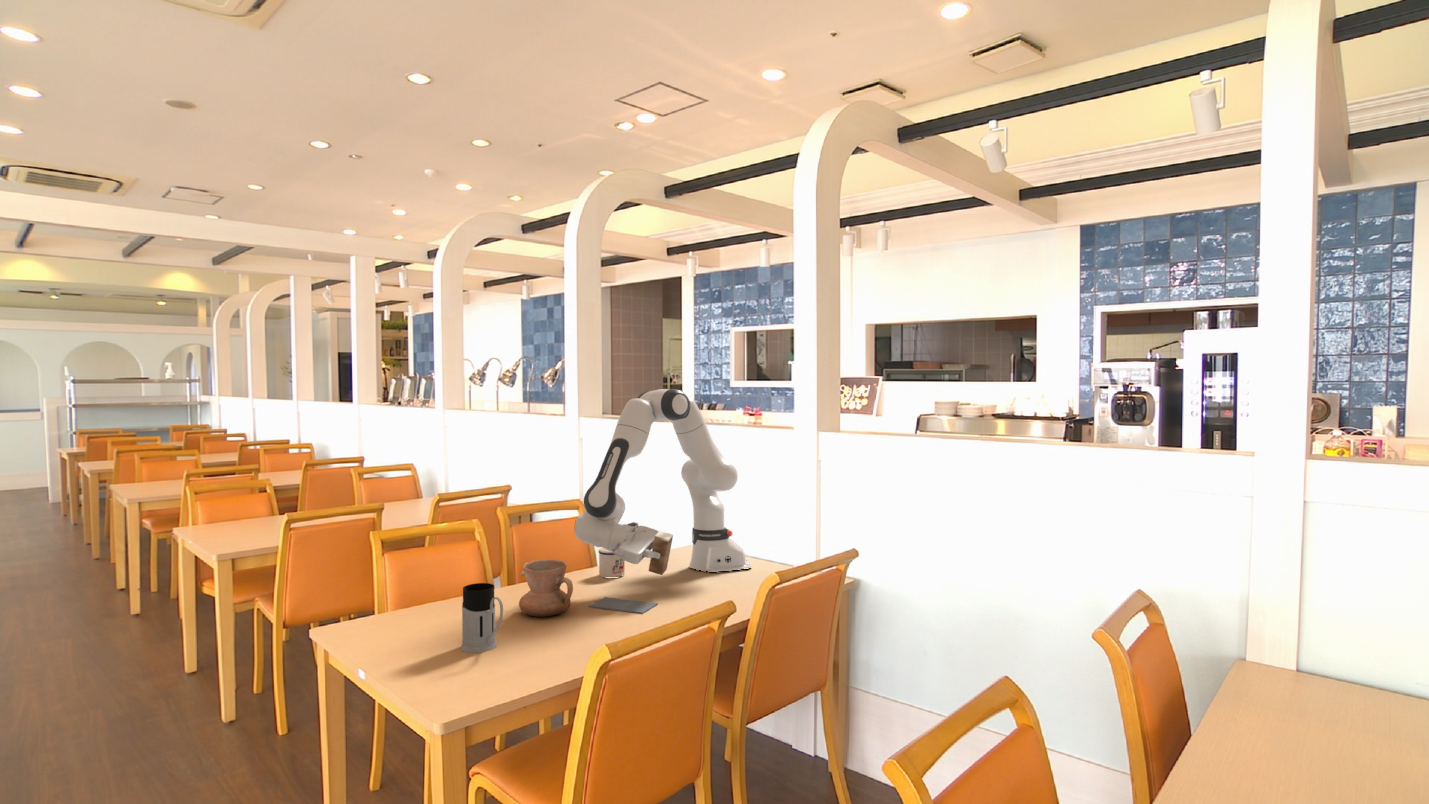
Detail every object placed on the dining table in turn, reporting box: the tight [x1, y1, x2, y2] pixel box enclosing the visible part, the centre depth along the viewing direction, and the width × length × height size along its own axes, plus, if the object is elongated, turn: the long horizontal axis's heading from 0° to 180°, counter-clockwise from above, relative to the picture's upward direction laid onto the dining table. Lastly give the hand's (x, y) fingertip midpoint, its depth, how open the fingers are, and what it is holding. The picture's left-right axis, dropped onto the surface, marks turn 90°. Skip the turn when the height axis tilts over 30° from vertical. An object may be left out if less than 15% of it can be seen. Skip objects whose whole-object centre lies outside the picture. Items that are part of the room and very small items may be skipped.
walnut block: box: [648, 530, 674, 576], centre depth 235 cm, size 4×4×12 cm
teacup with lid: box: [598, 547, 626, 578], centre depth 261 cm, size 12×9×12 cm
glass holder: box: [460, 582, 504, 654], centre depth 187 cm, size 9×14×15 cm, turn 51°
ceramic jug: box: [518, 559, 574, 618], centre depth 216 cm, size 18×14×14 cm
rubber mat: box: [588, 596, 659, 615], centre depth 224 cm, size 18×10×1 cm, turn 69°
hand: (663, 552), depth 234 cm, fingers closed on walnut block, 4 cm apart
